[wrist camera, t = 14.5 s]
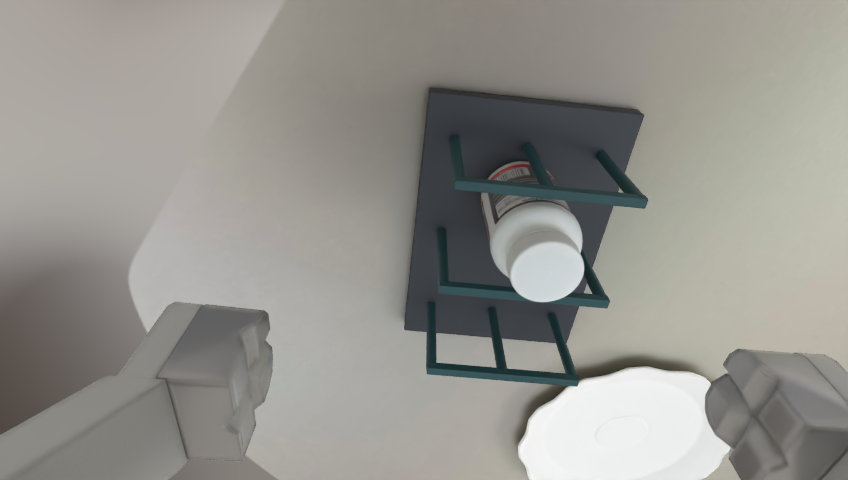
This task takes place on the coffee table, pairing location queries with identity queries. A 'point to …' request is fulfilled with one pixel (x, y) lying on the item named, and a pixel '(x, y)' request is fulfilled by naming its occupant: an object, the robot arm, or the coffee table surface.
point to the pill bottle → (533, 238)
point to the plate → (624, 429)
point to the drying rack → (468, 177)
